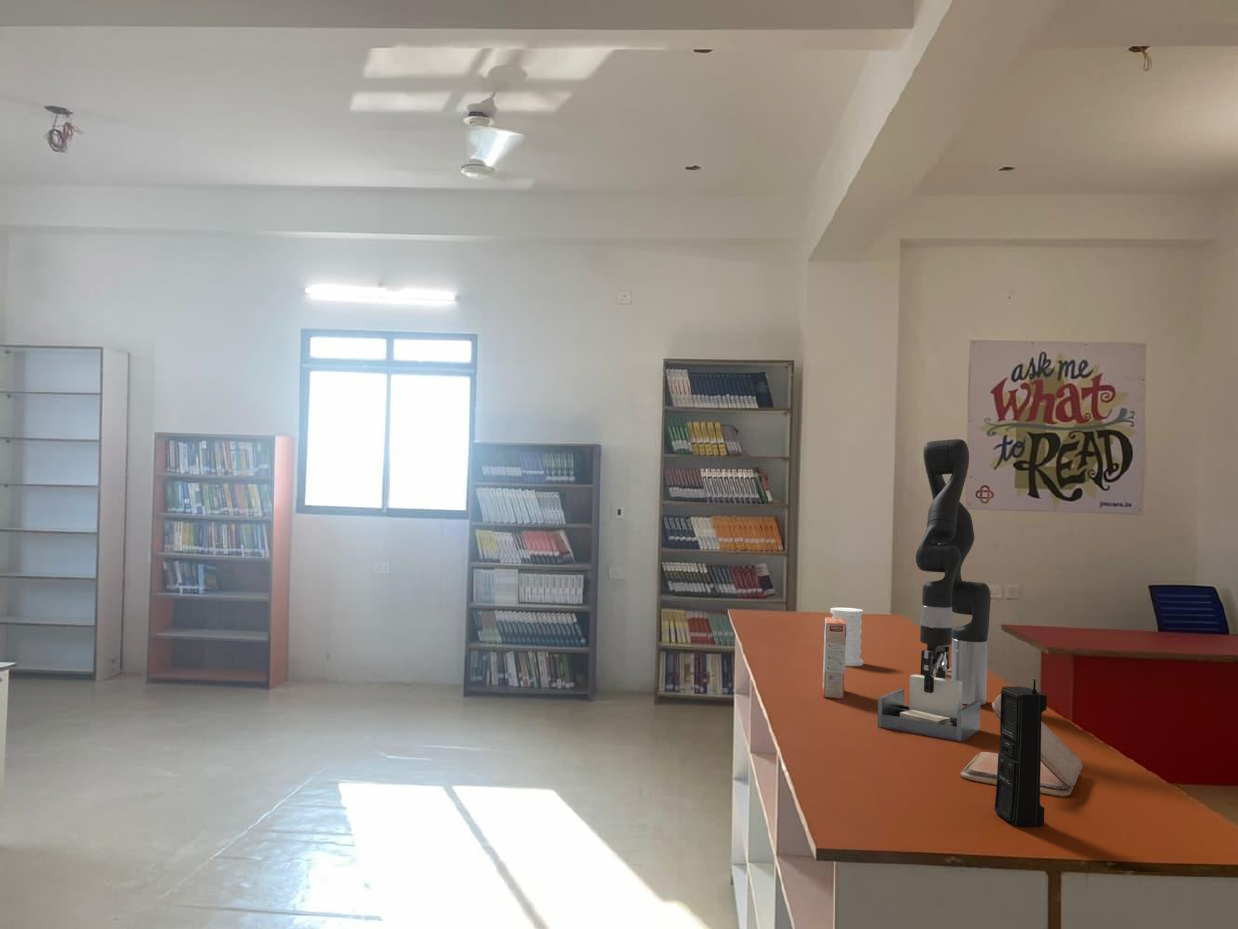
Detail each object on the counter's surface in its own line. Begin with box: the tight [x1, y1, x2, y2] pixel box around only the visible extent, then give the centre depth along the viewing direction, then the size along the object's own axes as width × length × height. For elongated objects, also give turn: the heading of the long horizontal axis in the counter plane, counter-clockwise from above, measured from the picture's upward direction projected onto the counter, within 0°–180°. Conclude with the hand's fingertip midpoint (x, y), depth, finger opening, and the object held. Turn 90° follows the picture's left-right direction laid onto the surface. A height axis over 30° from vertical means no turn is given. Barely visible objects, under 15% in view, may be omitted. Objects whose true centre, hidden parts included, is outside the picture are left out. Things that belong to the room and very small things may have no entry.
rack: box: [877, 688, 982, 742], centre depth 229 cm, size 15×20×7 cm
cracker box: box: [822, 616, 846, 700], centre depth 266 cm, size 14×6×21 cm, turn 168°
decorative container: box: [829, 606, 864, 667], centre depth 317 cm, size 12×12×18 cm
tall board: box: [908, 674, 963, 718], centre depth 233 cm, size 3×12×12 cm, turn 53°
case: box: [959, 693, 1084, 798], centre depth 191 cm, size 20×21×16 cm
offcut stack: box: [900, 710, 953, 726], centre depth 227 cm, size 6×11×4 cm, turn 44°
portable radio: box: [993, 679, 1048, 827], centre depth 166 cm, size 8×6×25 cm
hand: (934, 690), depth 233 cm, fingers open, 8 cm apart
